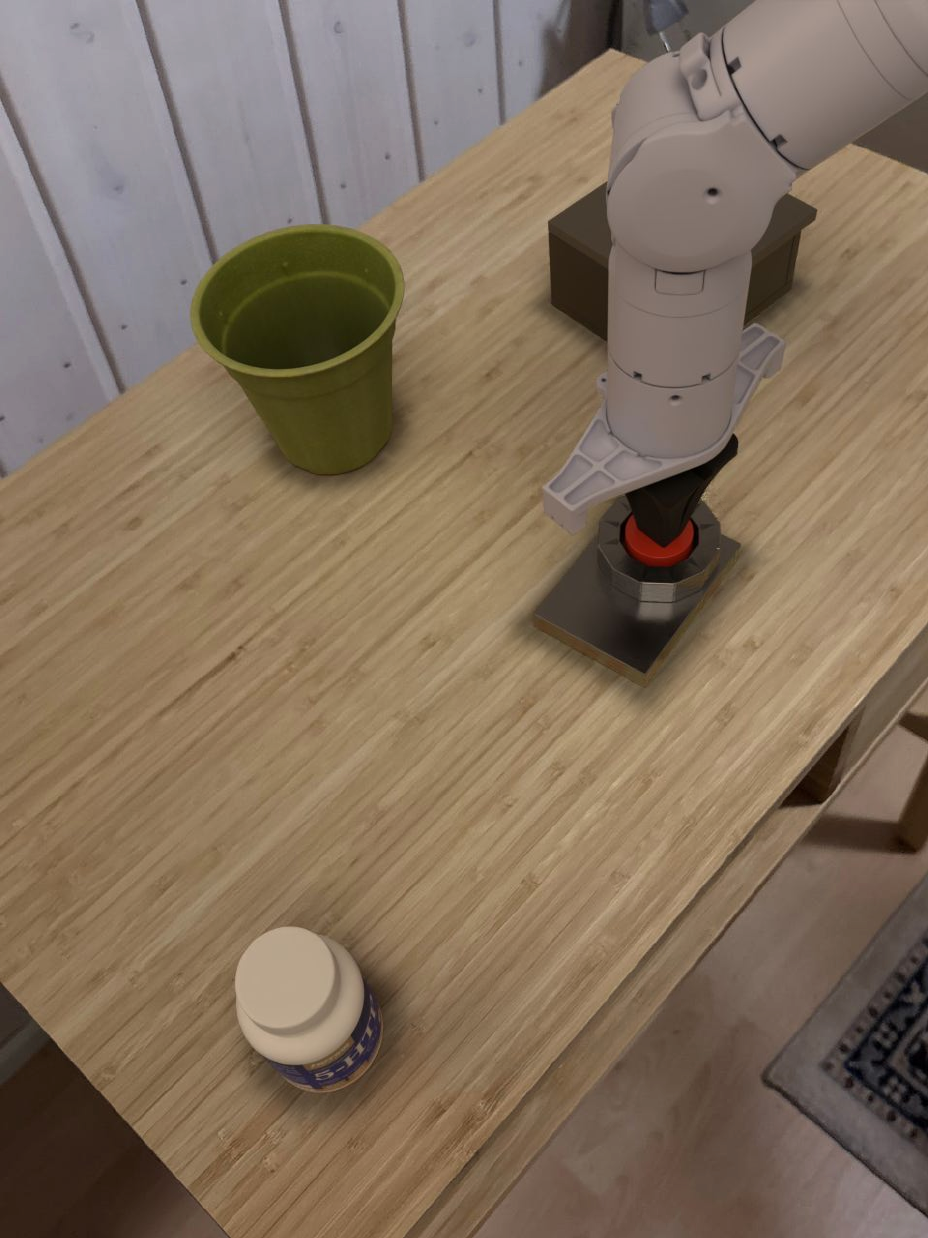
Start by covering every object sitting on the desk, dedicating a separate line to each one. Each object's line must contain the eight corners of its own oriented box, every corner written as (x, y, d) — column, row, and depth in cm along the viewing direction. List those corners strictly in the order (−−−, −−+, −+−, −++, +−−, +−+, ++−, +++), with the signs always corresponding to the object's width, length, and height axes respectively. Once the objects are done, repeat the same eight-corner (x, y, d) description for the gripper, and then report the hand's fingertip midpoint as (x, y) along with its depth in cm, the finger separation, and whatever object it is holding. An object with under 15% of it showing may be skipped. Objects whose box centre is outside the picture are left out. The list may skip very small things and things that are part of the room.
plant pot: (207, 430, 73) (150, 292, 64) (359, 340, 76) (326, 195, 67) (308, 541, 67) (261, 408, 58) (467, 439, 70) (448, 296, 61)
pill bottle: (341, 1118, 50) (297, 1075, 42) (246, 1055, 52) (189, 1003, 44) (407, 1009, 52) (376, 950, 45) (314, 952, 54) (269, 886, 46)
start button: (646, 514, 64) (648, 494, 63) (703, 542, 63) (706, 522, 61) (612, 558, 63) (612, 539, 61) (669, 587, 61) (671, 568, 60)
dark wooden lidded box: (791, 288, 75) (805, 214, 70) (669, 383, 71) (674, 311, 67) (671, 218, 80) (675, 144, 75) (550, 303, 76) (548, 232, 71)
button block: (633, 501, 67) (635, 468, 64) (741, 554, 64) (747, 521, 61) (533, 626, 63) (531, 595, 60) (644, 688, 60) (646, 658, 57)
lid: (815, 220, 70) (817, 208, 69) (684, 318, 66) (685, 307, 66) (676, 144, 75) (676, 132, 74) (547, 231, 71) (547, 220, 71)
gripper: (716, 219, 54) (695, 418, 65) (489, 383, 50) (508, 566, 61) (838, 288, 51) (793, 485, 62) (606, 471, 46) (603, 647, 58)
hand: (658, 530), depth 61 cm, fingers closed, pressing on start button
